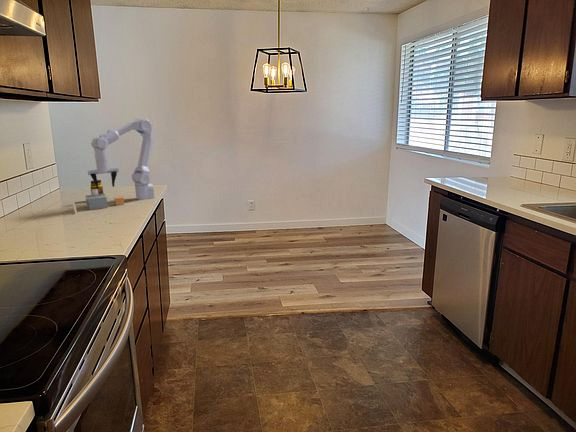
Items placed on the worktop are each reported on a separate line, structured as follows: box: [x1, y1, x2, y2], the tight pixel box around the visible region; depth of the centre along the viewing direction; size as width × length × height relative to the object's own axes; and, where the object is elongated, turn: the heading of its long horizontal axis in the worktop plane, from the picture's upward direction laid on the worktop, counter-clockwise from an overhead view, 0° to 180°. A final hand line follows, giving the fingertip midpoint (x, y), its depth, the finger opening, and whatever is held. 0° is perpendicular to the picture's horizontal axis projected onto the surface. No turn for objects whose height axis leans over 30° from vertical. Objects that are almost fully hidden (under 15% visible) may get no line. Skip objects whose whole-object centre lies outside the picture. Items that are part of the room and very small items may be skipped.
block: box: [114, 195, 125, 206], centre depth 228 cm, size 4×4×4 cm
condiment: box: [90, 179, 105, 194], centre depth 239 cm, size 7×8×12 cm
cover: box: [85, 189, 109, 211], centre depth 222 cm, size 9×10×9 cm
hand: (105, 187), depth 226 cm, fingers open, 7 cm apart
